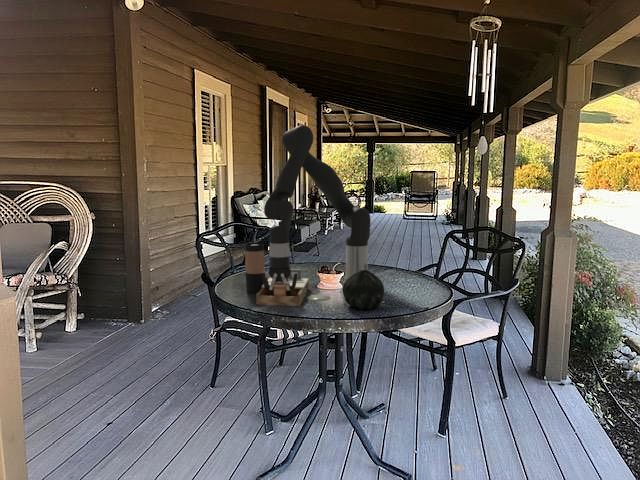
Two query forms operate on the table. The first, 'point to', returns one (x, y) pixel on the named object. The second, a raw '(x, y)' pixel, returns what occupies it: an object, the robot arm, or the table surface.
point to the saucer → (318, 297)
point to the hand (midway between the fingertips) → (280, 299)
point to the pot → (279, 289)
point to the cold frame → (281, 297)
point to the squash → (363, 290)
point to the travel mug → (254, 266)
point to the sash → (300, 281)
